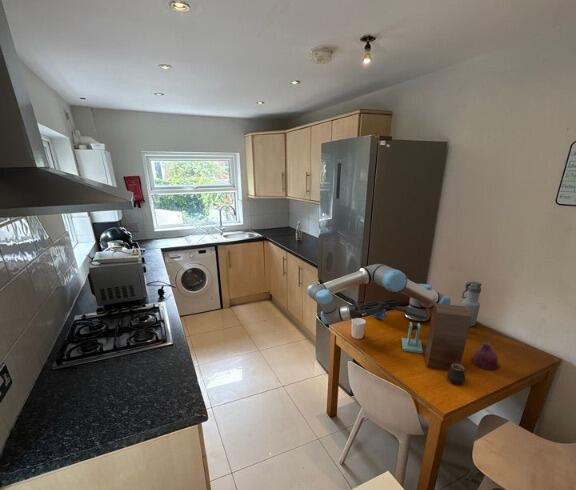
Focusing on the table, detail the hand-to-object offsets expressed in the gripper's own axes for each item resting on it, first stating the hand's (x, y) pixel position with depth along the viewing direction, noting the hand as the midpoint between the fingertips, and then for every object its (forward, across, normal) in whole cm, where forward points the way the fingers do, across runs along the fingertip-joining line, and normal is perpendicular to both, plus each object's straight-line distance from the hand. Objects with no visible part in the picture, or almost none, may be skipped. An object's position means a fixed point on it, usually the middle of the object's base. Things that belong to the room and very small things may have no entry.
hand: (396, 302), depth 150 cm
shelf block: (+13, +1, -37) cm, 39 cm away
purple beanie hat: (+33, -4, -44) cm, 55 cm away
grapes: (-17, -43, -26) cm, 53 cm away
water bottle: (+36, -52, -45) cm, 78 cm away
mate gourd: (+16, +15, -38) cm, 45 cm away
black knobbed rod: (+4, -17, -25) cm, 31 cm away
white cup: (-27, -16, -22) cm, 38 cm away
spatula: (+2, 0, -5) cm, 5 cm away
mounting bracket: (+1, -12, -32) cm, 35 cm away
